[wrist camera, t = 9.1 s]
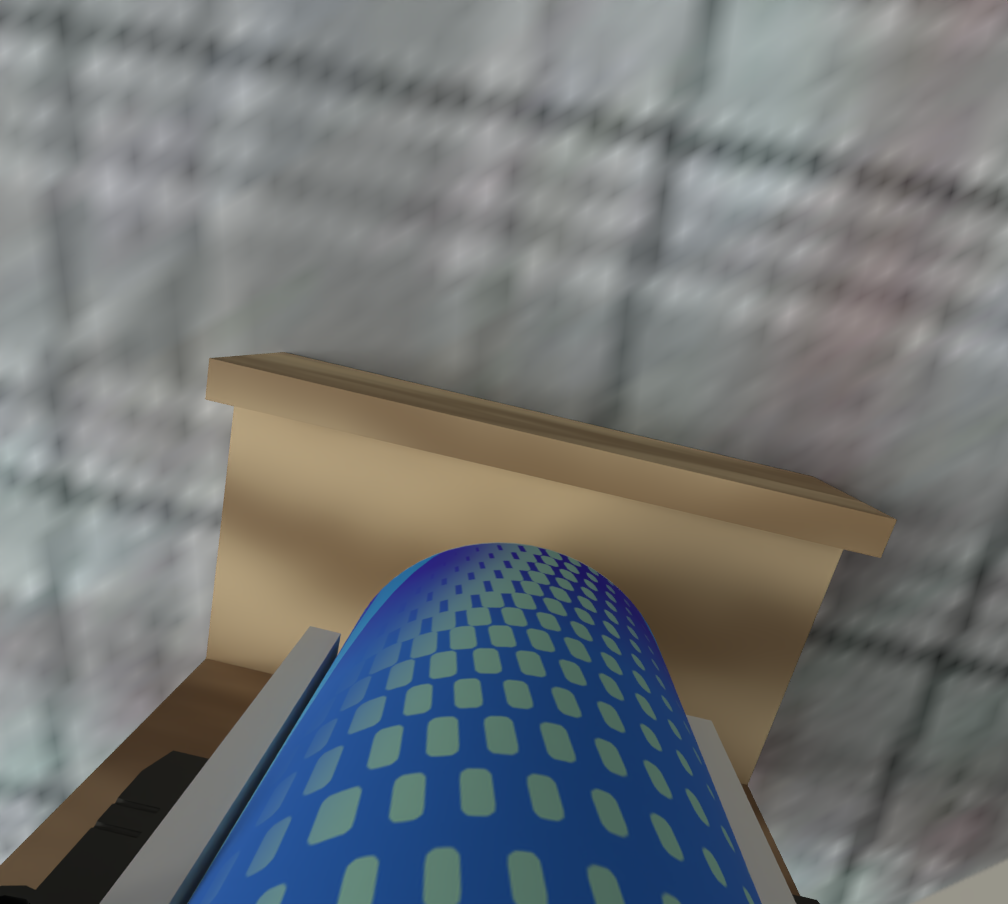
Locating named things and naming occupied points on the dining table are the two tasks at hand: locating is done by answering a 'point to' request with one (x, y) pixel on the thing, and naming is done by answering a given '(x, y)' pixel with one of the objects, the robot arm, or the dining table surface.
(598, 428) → the cleat board
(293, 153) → the dining table surface
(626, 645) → the beer can
